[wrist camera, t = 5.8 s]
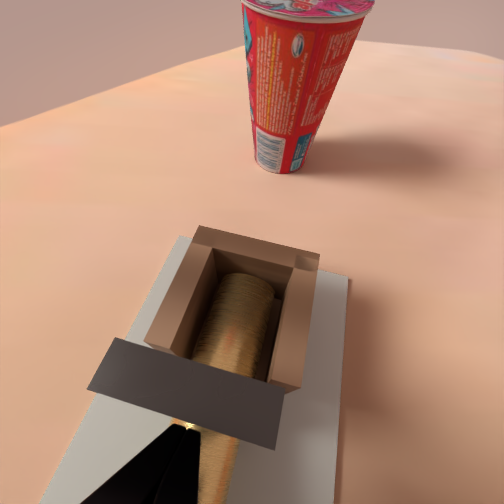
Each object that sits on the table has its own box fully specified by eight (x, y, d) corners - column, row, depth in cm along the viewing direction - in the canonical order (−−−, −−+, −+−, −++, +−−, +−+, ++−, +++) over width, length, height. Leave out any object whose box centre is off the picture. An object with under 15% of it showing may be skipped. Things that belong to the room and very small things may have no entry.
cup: (313, 131, 28) (353, -26, 18) (329, 185, 24) (396, 16, 14) (228, 131, 28) (222, -32, 17) (229, 186, 23) (220, 10, 13)
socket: (283, 395, 14) (301, 388, 10) (169, 360, 15) (143, 341, 11) (301, 290, 18) (319, 254, 13) (208, 266, 18) (199, 225, 14)
